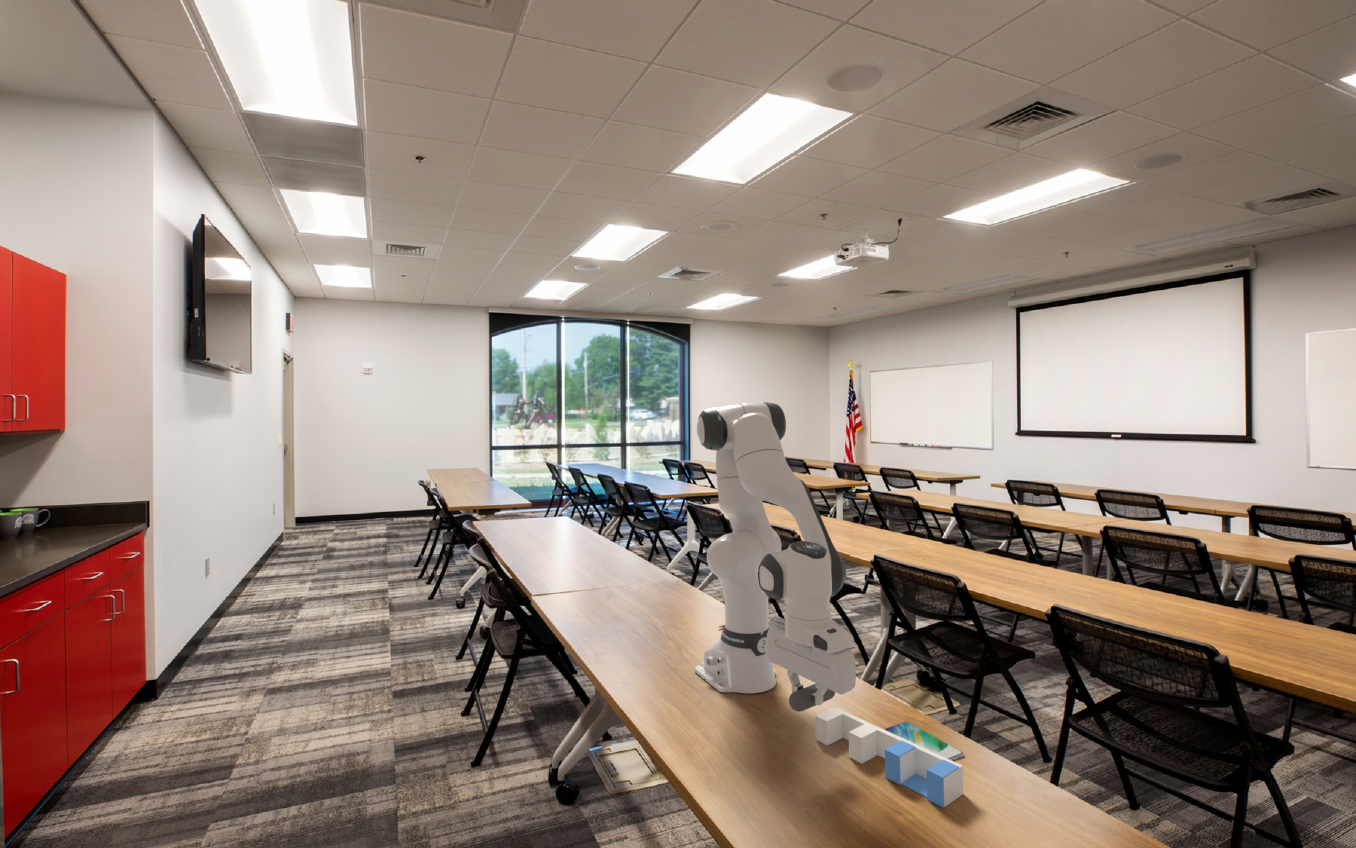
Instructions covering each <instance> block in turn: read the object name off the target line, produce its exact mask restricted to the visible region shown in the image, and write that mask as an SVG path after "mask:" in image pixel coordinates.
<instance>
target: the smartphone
mask: <svg viewBox="0 0 1356 848" xmlns="http://www.w3.org/2000/svg"><path fill="white" fill-rule="evenodd" d="M883 729H884V730H886V731H888V732H890V733H892V734H895V735H897V736H899V737H901V738H903V739H906V740H908V741H910V742H912V743H914V744H917V745H919V746H921V747H923V748H925V749H927V750H930V751H932V752H934V753H936V754H938V755H941V756H943V757H945V758H947V759H949V760H952V761H956V760H958V759H961V758H963V757H964V756H965V755H964V751H962V750H960V749H959V748H956V747H955V746H952V745H951V744H949V743H948V742H945V741H944V740H942V739H940V738H938V737H936V736H935V735H933V734H931V733H929V732H928V731H926V730H924V729H922V728H921V727H918V726H917V725H915V724H913V723H911V722H909V721H903V722H900V723H896V724H895V725H892V726H889V727H886V728H883Z"/></svg>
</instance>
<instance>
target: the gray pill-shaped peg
mask: <svg viewBox="0 0 1356 848" xmlns="http://www.w3.org/2000/svg"><path fill="white" fill-rule="evenodd" d="M817 690H818V688H816V683H814V684H811V685H808V686H806V687H803V689H800V690H798V691H795V692H793V693H792V692H791V694H790V695H789V697H788V704H789V707H790V708H791V709H792V710H793V711H795V712H797V713H798V712H799V713H800V712H804V711H806V710H809V709H811V708H813V707H815V706H817V705H816V704H814V703H812V702H811V700H812V698H811V694H813V693H816V692H817ZM835 694H836V692H834V691H832V690H830V689H827V691H826V692H825V694H824V695H823V703H825V702H826V701H830V700H832V699H833V697H834V696H835Z"/></svg>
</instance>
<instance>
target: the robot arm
mask: <svg viewBox="0 0 1356 848" xmlns="http://www.w3.org/2000/svg"><path fill="white" fill-rule="evenodd" d="M786 420H787V419H786V415H785V412H784V410H783V408H782V407H781V406H780V405H779V404H777V403H774V402H768V401H767V402H765V401H764V402H763V403H762V402H761V403H760V402H744V403H743V402H742V403H738V404H732V405H731V404H730V405H724V406H719V407H715V406H714V407H710V408H706V409H704V410H702V411H701V412H700V414H699V415H698V419H697V423H696V434H697V437H698V440H699V442H700V444H701V446H702V447H704V448H705V449H707V450H710V451H716V452H715V475H716V486H717V496H718V506H719V508H720V510H721V512H723V513H724V514H725V515H726V517H727V519H728V520H729V523H730V525H731V530H732V532H729V533H725V534H723V535H721V536H720V537H718V538H717V539H716V540H714V541H713V542H711V544H710V545H709V547H708V548H707V551H706V562H707V565H708V568H709V569H710V571H711V573H713V574H714V575H715V576H716V578H717V579H718V580H719V583H720V586H721V589H722V593H723V594H722V595H723V599H724V600H723V601H724V624H723V625H719V626H718V628H719V629H718V632H720V631H721V635H720V638H718V639H717V640H716V641H714V642H713V643H711V644H710V645H708V647H707V648H706V649H705V651H704V655H703V662H701V663H700V664H697V665H696V666H695V668H694V672H695V673H696V674H697V675H698V676H699V675H700V676H699V677H700V678H702V679H703V680H704V679H705V682H707V683H708V684H709V685H710V686H711V687H713V688H714V689H715V690H717V691H718V692H720V693H738V694H739V693H740V694H757V693H763V692H764V693H765V692H767V691H769V690H772V689H773V688H774V687H775V686H776V685H777V679H776V674H777V673H776V668H774V665H777V666H779V667H780V668H783V669H785V670H786V671H787V673H786V674H787V678H788V680H789V681H790V684H791V694H792V693H793V692H795V691H798V690H800V689H803V688H804V684H802V683H801V680H800V678H799V676H800V677H802V678H804V679H806V680H809V681H810V682H812V683H814V684H816V688H818V690H817V692H816V693H813V694H811V698H812V700H811V702H812V703H814V704H816V706H821V705H823V703H824V702H823V695H824V694H825V692H826V691H827V689H830V690H832V691H834V692H835V694H839V695H845V694H848V693H849V692H851V691H853V689H854V688H855V687H856V684H857V677H856V676H857V675H856V674H857V673H856V672H857V671H856V667H857V666H856V657H855V655H854V652H853V650H852V649H851V647H853V646H854V645H855V644H854V643H855V639H854V636H853V635H852V634H851V633H850V632H849V631H847V630H846V629H844V628H843V627H842V626H841V625H839V624H838V623H837V621H836V620H834V619H833V618H832V615H833V614H832V609H831V604H830V603H831V602H830V600H831V598H834V597H835V596H836V595H837V594H838V593H839V592H840V590H842V588H843V586H844V585H845V582H846V579H847V568H846V566H845V562H844V560H843V558H842V557H841V555H840V553H839V552H838V550H837V549H836V547H835V546H834V543H833V542H832V540H831V537H830V535H829V533H828V530H827V528H826V525H825V523H824V521H823V518H822V517H821V514H820V512H819V509H818V507H817V504H816V502H815V500H814V497H813V495H812V492H811V491H810V489H809V488H808V486H807V484H806V483H805V482H804V481H803V480H802V479H800V478H799V477H798V476H797V475H796V474H795V473H794V472H793V470H792V468H791V467H790V465H789V464H788V462H787V460H786V457H785V454H784V453H785V452H784V450H783V447H782V443H781V440H782V439H783V438H784V437H785V435H786V430H787V421H786ZM764 502H766V503H767V502H768V503H771V504H773V505H776V506H778V507H781V508H782V509H784V510H786V511H788V512H789V513H790V514H791V515H792V516H793V518H794V520H795V521H796V524H797V526H798V529H799V531H800V533H801V536H802V539H803V541H802V540H799V541H795V542H792V543H791V544H789V545H788V547H787V548H786V549H783V550H782V540H781V538H780V535H779V534H778V533H777V532H776V531H775V530H774V529H773V527H772V525H771V523H770V521H769V519H768V516H767V513H766V510H765V507H764ZM769 598H771V599H773V600H778V601H779V600H780V601H783V602H785V611H784V618H782V617H780V616H778V615H774V617H771V618H770V619H769Z"/></svg>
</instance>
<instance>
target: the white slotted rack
mask: <svg viewBox="0 0 1356 848" xmlns="http://www.w3.org/2000/svg"><path fill="white" fill-rule="evenodd" d="M884 729H885V728H881V727H879V726H877V725H875V724H873V723H870V722H868V721H866V720H864V719H862V718H860V717H857V716H855V715H853V714H850V713H848V712H846V711H845V710H842V709H840V708H838V707H832V708H830V709H828V710H826V711H825V710H824V711H823V712H821V713H818V714H817V715H815V740H816V741H818V742H820V743H821V744H823V745H825V746H829V745H832V744H833V743H836V742H838V741H839V740H841V739H844V740H846V741H848V756H849V758H850V759H852V760H854V761H856V762H857V763H859V764H863V763H866V762H868V761H870V760H871V759H873V758H875V757H877V756H879V757H881V758H883V759H884V776H885V778H886V779H887V780H890V781H891V782H893V783H896V784H897V785H898V786H899V785H902V786H904V787H905V788H907V789H909V790H911V791H913V792H915V793H917V794H919V795H921V796H923V797H925V798H926V800H928V801H929V802H932V803H933V804H935V805H937V806H939V807H940V808H943V809H944V808H945V807H947V806H948V805H950V804H951V803H953V802H954V801H955V800H957V799H958V798H960V797H961V796H962V795H964V766H963V765H962V764H960V763H959V762H955V760H949V759H947V758H945V757H943V756H941V755H938V754H936V753H934V752H932V751H930V750H927V749H925V748H923V747H921V746H919V745H917V744H914V743H912V742H910V741H908V740H906V739H903V738H901V737H899V736H897V735H895V734H892V733H890V732H888V731H886V730H884Z"/></svg>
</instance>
